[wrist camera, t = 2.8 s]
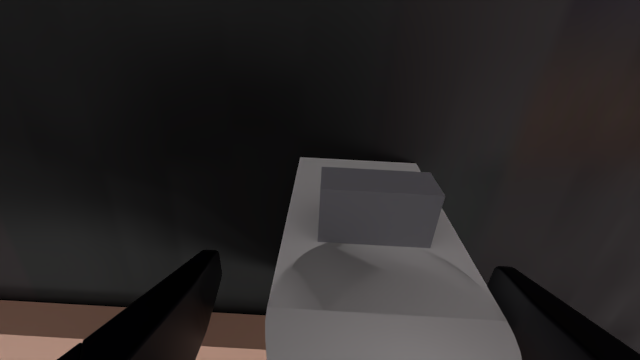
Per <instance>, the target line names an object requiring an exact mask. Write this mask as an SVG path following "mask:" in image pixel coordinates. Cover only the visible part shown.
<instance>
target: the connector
mask: <svg viewBox="0 0 640 360" xmlns="http://www.w3.org/2000/svg"><path fill="white" fill-rule="evenodd" d="M444 198H445V195H444V193H443V192H442V190H441V188H440V187H439V185H438V184H437V182H436V181H435V179H434V177H433V176H432V174H431V173H430V172H421V171H420V169H419V168H418V166H417V164H416V163H400V162H381V161H362V160H344V159H325V158H306V157H300V160H299V165H298V169H297V174H296V178H295V183H294V187H293V192H292V196H291V201H290V205H289V210H288V214H287V219H286V224H285V228H284V233H283V237H282V242H281V246H280V251H279V255H278V260H277V264H276V269H275V273H274V278H273V283H272V287H271V292H270V296H269V301H268V305H267V311H266V318H265V341H266V356H267V360H522V357H521V352H520V349H519V346H518V344H517V341H516V338H515V336H514V334H513V332H512V330H511V328H510V326H509V324H508V322H507V320H506V318H505V316H504V315H503V313H502V311H501V310H500V308H499V306H498V304H497V303H496V301H495V299H494V297H493V296H492V294H491V292H490V290H489V289H488V287H487V285H486V284H485V282H484V280H483V278H482V277H481V275H480V273H479V271H478V270H477V268H476V266H475V265H474V263H473V261H472V259H471V258H470V256H469V254H468V252H467V251H466V249H465V247H464V245H463V244H462V242H461V240H460V239H459V237H458V235H457V233H456V232H455V230H454V228H453V226H452V225H451V223H450V221H449V220H448V218H447V216H446V214H445V213H444V211H443V209H442V205H443V202H444Z"/></svg>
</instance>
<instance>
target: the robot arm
mask: <svg viewBox="0 0 640 360" xmlns="http://www.w3.org/2000/svg"><path fill="white" fill-rule="evenodd" d="M221 277H222V269H221V263H220V256H219V253H218V251H216V250H203V251H201V252H200V253H198V254H197V255H196V256H194V257H193V258H192V259H190V260H189V261H188V262H186V263H185V264H184V265H182V266H181V267H180V268H178V269H177V270H176V271H174V272H173V273H172V274H170V275H169V276H168V277H166V278H165V279H164V280H162V281H161V282H160V283H158V284H157V285H156V286H154V287H153V288H152V289H150V290H149V291H148V292H146V293H145V294H144V295H142V296H141V297H140V298H138V299H137V300H136V301H134V302H133V303H132V304H130V305H129V306H128V307H126V308H125V309H124V310H122V311H121V312H120V313H118V314H117V315H116V316H114V317H113V318H112V319H110V320H109V321H108V322H106V323H105V324H104V325H102V326H101V327H100V328H98V329H97V330H96V331H94V332H93V333H92V334H91V335H89V336H88V337H87V338H85V339H84V340H83V342H82V343H78V344H77V345H76V346H74V347H73V348H72V349H70V350H69V351H68V352H66V353H65V354H64V355H62V356H61V357H60V358H58V359H57V360H196V357H197V355H198V352H199V350H200V347H201V345H202V342H203V340H204V337H205V334H206V331H207V328H208V325H209V321H210V318H211V314H212V311H213V307H214V303H215V300H216V296H217V292H218V289H219V285H220V281H221ZM487 287H488V289H489V290H490V292H491V294H492V296H493V297H494V299H495V301H496V303H497V304H498V306H499V308H500V310H501V311H502V313H503V315H504V316H505V318H506V320H507V322H508V324H509V326H510V328H511V330H512V332H513V334H514V336H515V338H516V341H517V344H518V346H519V349H520V352H521V357H522V360H640V354H639V353H637V352H636V351H634V350H633V349H631V348H630V347H628V346H627V345H625V344H624V343H623V342H621V341H620V340H618V339H617V338H615V337H614V336H612V335H611V334H609V333H608V332H607V331H605V330H604V329H602V328H601V327H599V326H598V325H596V324H595V323H593V322H592V321H591V320H589V319H588V318H586V317H585V316H583V315H582V314H580V313H579V312H577V311H576V310H574V309H573V308H572V307H570V306H569V305H567V304H566V303H564V302H563V301H561V300H560V299H558V298H557V297H556V296H554V295H553V294H551V293H550V292H548V291H547V290H545V289H544V288H542V287H541V286H539V285H538V284H537V283H535V282H534V281H532V280H531V279H529V278H528V277H526V276H525V275H523V274H522V273H521V272H519V271H518V270H516V269H515V268H513V267H507V266H497V267H496V268H495V269H494V271H493V273H492V276H491V278H490V280H489V282H488V285H487Z"/></svg>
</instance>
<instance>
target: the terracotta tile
mask: <svg viewBox="0 0 640 360" xmlns="http://www.w3.org/2000/svg"><path fill="white" fill-rule="evenodd" d="M125 308H126V307H111V306H94V305H77V304H60V303H42V302H25V301H8V300H0V360H57V359H58V358H60V357H61V356H62V355H64V354H65V353H66V352H68V351H69V350H70V349H72V348H73V347H74V346H76V345H77V344H78V343H82V342H83V340H84V339H85V338H87V337H88V336H89V335H91V334H92V333H93V332H94V331H96V330H97V329H98V328H100V327H101V326H102V325H104V324H105V323H106V322H108V321H109V320H110V319H112V318H113V317H114V316H116V315H117V314H118V313H120V312H121V311H122V310H124V309H125ZM265 318H266V315H249V314H232V313H215V312H212V314H211V318H210V321H209V325H208V328H207V331H206V334H205V337H204V340H203V342H202V345H201V347H200V350H199V352H198V355H197V357H196V360H267V356H266V341H265Z"/></svg>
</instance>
